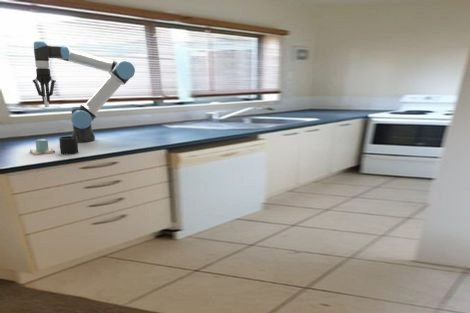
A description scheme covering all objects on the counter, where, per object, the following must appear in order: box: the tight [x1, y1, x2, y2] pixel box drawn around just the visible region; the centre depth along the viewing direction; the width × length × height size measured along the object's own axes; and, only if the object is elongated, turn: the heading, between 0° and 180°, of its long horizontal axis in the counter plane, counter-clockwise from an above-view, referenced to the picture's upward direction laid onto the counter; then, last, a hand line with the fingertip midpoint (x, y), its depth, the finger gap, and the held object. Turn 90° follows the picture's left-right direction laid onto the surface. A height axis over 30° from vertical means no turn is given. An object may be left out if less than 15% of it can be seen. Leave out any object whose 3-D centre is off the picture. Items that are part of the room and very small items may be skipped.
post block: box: [30, 147, 56, 156], centre depth 209 cm, size 11×11×5 cm
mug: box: [58, 135, 79, 155], centre depth 209 cm, size 9×12×9 cm
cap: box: [35, 138, 50, 151], centre depth 209 cm, size 6×6×6 cm
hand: (47, 107), depth 223 cm, fingers closed
